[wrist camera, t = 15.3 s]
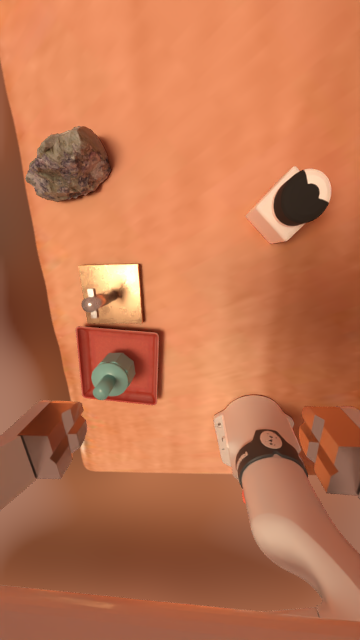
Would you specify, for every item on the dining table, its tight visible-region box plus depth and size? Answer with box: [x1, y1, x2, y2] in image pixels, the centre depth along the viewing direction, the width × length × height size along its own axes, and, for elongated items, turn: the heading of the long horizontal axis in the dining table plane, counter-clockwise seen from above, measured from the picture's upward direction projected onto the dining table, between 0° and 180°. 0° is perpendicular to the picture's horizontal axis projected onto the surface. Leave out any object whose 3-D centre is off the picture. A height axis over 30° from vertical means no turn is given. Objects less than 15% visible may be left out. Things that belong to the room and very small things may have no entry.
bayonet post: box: [78, 264, 144, 323], centre depth 38 cm, size 12×12×10 cm
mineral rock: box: [26, 126, 111, 202], centre depth 32 cm, size 13×11×10 cm
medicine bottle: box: [246, 166, 331, 244], centre depth 30 cm, size 7×7×12 cm
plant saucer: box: [76, 326, 159, 405], centre depth 46 cm, size 18×18×3 cm
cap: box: [91, 353, 136, 400], centre depth 40 cm, size 7×7×9 cm
